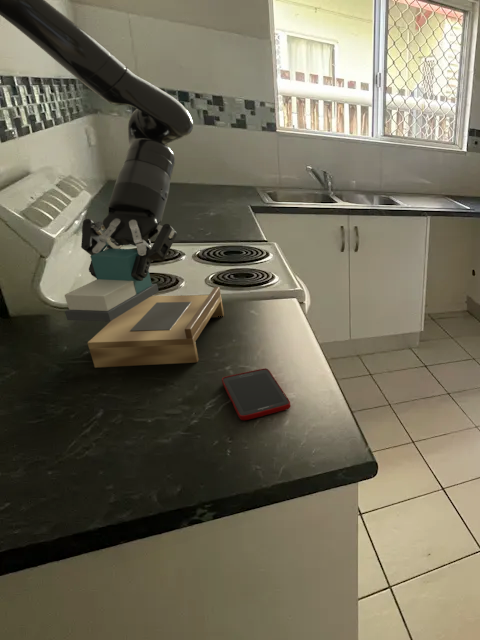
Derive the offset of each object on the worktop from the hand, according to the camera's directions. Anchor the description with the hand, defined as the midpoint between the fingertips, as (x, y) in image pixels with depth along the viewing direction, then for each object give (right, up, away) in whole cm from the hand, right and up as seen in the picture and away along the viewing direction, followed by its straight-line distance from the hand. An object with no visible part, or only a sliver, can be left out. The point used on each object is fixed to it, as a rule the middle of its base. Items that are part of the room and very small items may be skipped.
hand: (117, 277), depth 79 cm
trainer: (0, -5, 0) cm, 5 cm away
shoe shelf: (-5, -10, +18) cm, 22 cm away
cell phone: (+22, -20, +2) cm, 30 cm away
